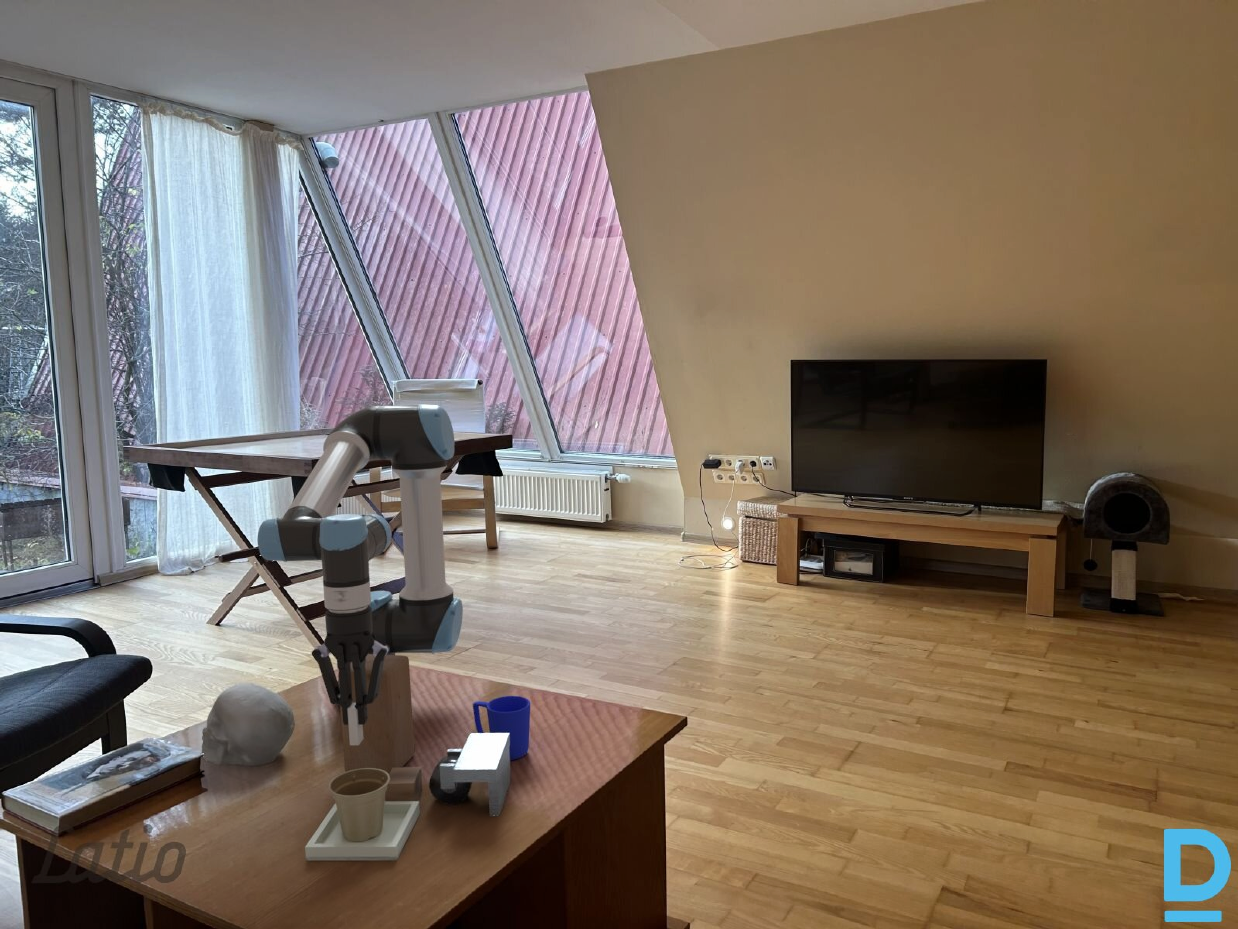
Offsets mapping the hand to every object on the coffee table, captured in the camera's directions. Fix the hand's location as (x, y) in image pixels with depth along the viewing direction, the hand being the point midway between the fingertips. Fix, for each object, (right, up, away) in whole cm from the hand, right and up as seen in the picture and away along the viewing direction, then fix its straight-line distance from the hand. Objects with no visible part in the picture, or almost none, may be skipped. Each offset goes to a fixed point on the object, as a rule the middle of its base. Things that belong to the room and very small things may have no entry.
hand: (356, 742), depth 159 cm
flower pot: (+4, -12, -10) cm, 16 cm away
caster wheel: (+18, -10, +1) cm, 21 cm away
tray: (+4, -12, -10) cm, 16 cm away
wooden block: (0, -9, +15) cm, 17 cm away
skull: (-27, -9, +20) cm, 35 cm away
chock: (+8, -10, +2) cm, 13 cm away
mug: (+23, -8, +19) cm, 30 cm away
